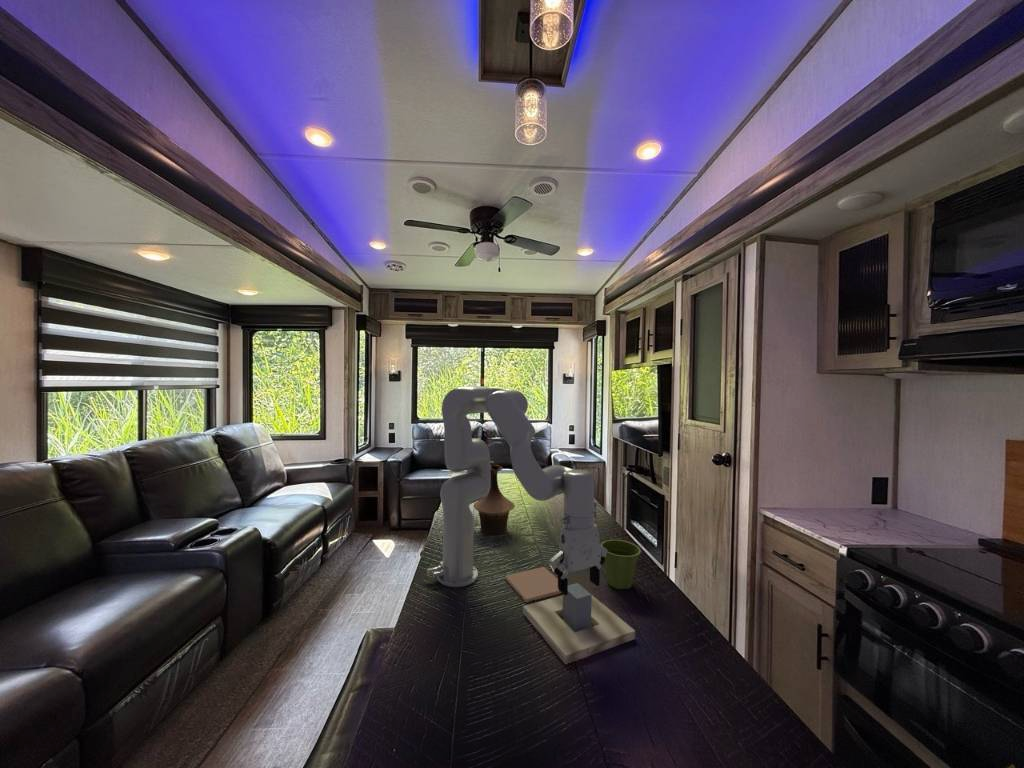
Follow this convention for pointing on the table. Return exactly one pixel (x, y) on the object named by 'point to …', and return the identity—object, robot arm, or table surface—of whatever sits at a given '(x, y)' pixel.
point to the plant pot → (620, 562)
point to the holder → (583, 642)
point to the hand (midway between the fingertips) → (579, 587)
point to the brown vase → (494, 507)
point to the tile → (534, 584)
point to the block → (577, 608)
